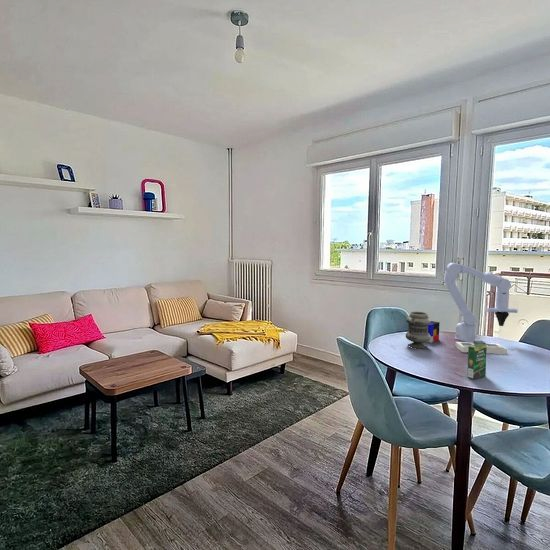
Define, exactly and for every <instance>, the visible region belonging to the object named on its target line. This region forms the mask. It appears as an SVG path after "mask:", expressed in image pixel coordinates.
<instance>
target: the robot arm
mask: <svg viewBox="0 0 550 550" xmlns="http://www.w3.org/2000/svg"><path fill="white" fill-rule="evenodd" d="M460 273H461V274H469V275H471V276H475V277H477V278H480V279H481V281H482V282H483V283H485V284H488V285H491V286H494V287H496V292H495V293H496V295H495V296H496V297H495V307H489V308H488V307H487V308H486V310H485V311H486V313H494V315H495V317H496V319H497V322H498V326H499V327H504V325H505V322H506V320H507V319H508V317H509V315H510V313H512V314H518V312H519V311H518V309H517V308H509V301H510V300H509V299H510V288H511V287H512V284H511V281H510V280H509V279H508V278H504V277H503V276H502V275H496V274H494V272H492V271H486V272H483V271H481V270H477V269H476V268H472V267H471V266H468V265H465V264H460V263H456V262H449V263H448V264H447V265H446V266H445V269H444V275H443V282H444V284H445V286H446V288H447V290H448V292H449V293H450V296H451V297H452V299H453V302H454V303H455V305H456V307H457V309H458V311H459V313H460V318H461V322H459V323H457V324H456V326H455V337H454V339H455V340H458V341H460V342H471V343H474V341H480V340H479V339H476V328H477V326H476V323H477V322H478V320H477V317H476V315H475V314H473V312H472V311H471V309H470V308H469V307H468V305H467V303H466V301H465V299H464V296H463V295H462V293H461V292H460V290H459V288H458V286H457V284H456V282H455V280H456V278H457V277H458V275H460Z"/></svg>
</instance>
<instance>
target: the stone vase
mask: <svg viewBox="0 0 550 550" xmlns="http://www.w3.org/2000/svg"><path fill="white" fill-rule="evenodd" d="M431 321H432V320H431V318H429V316H428V312H424V311H419V310H418V311H415V310H414V311H411V312H410V313H409V315H408V316H407V318H406V322H407V323H408V329H407V330H408V331H406V333H405V338H406V340H408V341H409V342H411V343H408V344H407V345H408V346H410V347H412V348H416V349H415V350H422V349H424V350H427V349H428V346H427V345H425V344H424V343H428V341H429V340H430V338H431V336H430V334H429V333H428V325H429V324H430V323H431ZM408 346H407V347H408ZM412 348H411V349H412Z"/></svg>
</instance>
